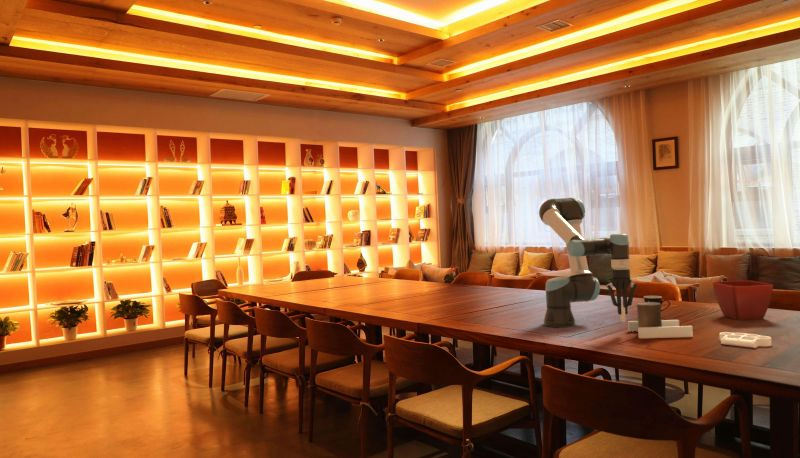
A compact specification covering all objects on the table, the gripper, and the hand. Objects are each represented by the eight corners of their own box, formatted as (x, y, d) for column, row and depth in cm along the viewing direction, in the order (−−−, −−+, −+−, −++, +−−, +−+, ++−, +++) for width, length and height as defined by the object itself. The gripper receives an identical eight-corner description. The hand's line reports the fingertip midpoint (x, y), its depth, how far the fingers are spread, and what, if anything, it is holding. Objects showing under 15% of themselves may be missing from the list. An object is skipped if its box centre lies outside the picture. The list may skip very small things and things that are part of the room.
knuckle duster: (712, 344, 222) (725, 338, 231) (764, 351, 208) (775, 343, 218) (711, 336, 222) (724, 330, 231) (763, 342, 208) (775, 335, 218)
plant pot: (776, 319, 261) (774, 284, 261) (735, 321, 261) (733, 286, 261) (751, 313, 280) (749, 280, 280) (713, 315, 280) (711, 281, 280)
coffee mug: (640, 316, 287) (640, 297, 287) (652, 314, 290) (651, 295, 290) (659, 319, 276) (658, 299, 276) (671, 317, 280) (671, 297, 280)
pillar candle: (664, 336, 238) (663, 301, 238) (640, 336, 240) (639, 302, 240) (659, 332, 248) (657, 298, 248) (635, 332, 250) (634, 299, 250)
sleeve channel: (639, 338, 237) (638, 327, 237) (628, 331, 253) (627, 321, 252) (692, 336, 235) (692, 326, 235) (678, 329, 250) (677, 319, 250)
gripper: (607, 270, 242) (610, 323, 242) (638, 268, 240) (641, 322, 241) (603, 268, 249) (605, 320, 249) (633, 267, 248) (635, 319, 248)
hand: (623, 321), depth 245 cm, fingers closed
